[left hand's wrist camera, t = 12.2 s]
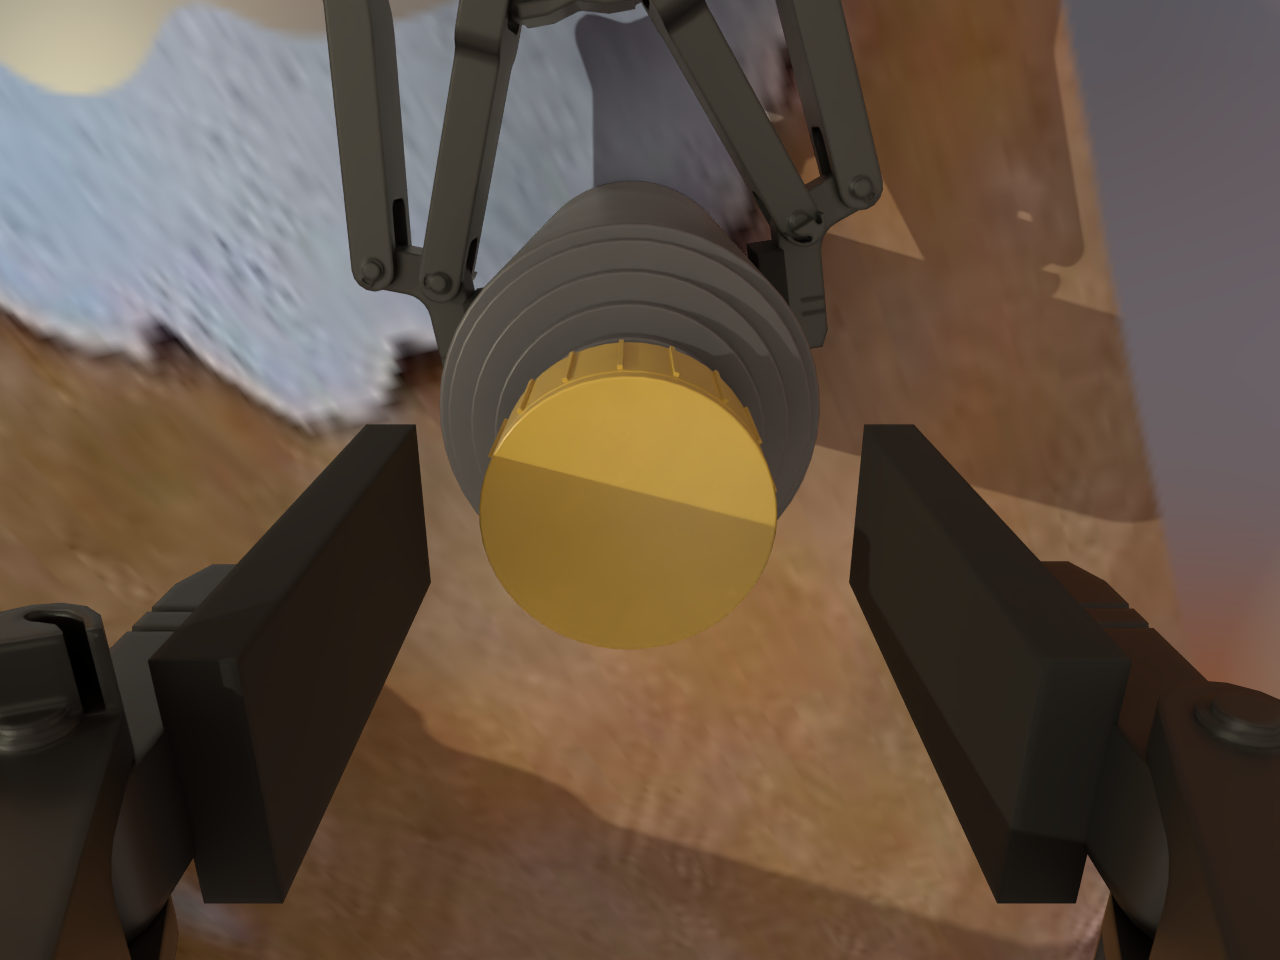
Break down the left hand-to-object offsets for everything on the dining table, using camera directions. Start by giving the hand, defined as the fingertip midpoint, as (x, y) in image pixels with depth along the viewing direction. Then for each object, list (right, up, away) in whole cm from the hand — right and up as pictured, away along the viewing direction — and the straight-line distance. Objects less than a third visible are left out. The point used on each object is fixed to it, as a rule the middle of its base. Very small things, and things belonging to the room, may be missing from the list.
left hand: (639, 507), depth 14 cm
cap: (0, 0, 0) cm, 0 cm away
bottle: (0, +7, +19) cm, 21 cm away
